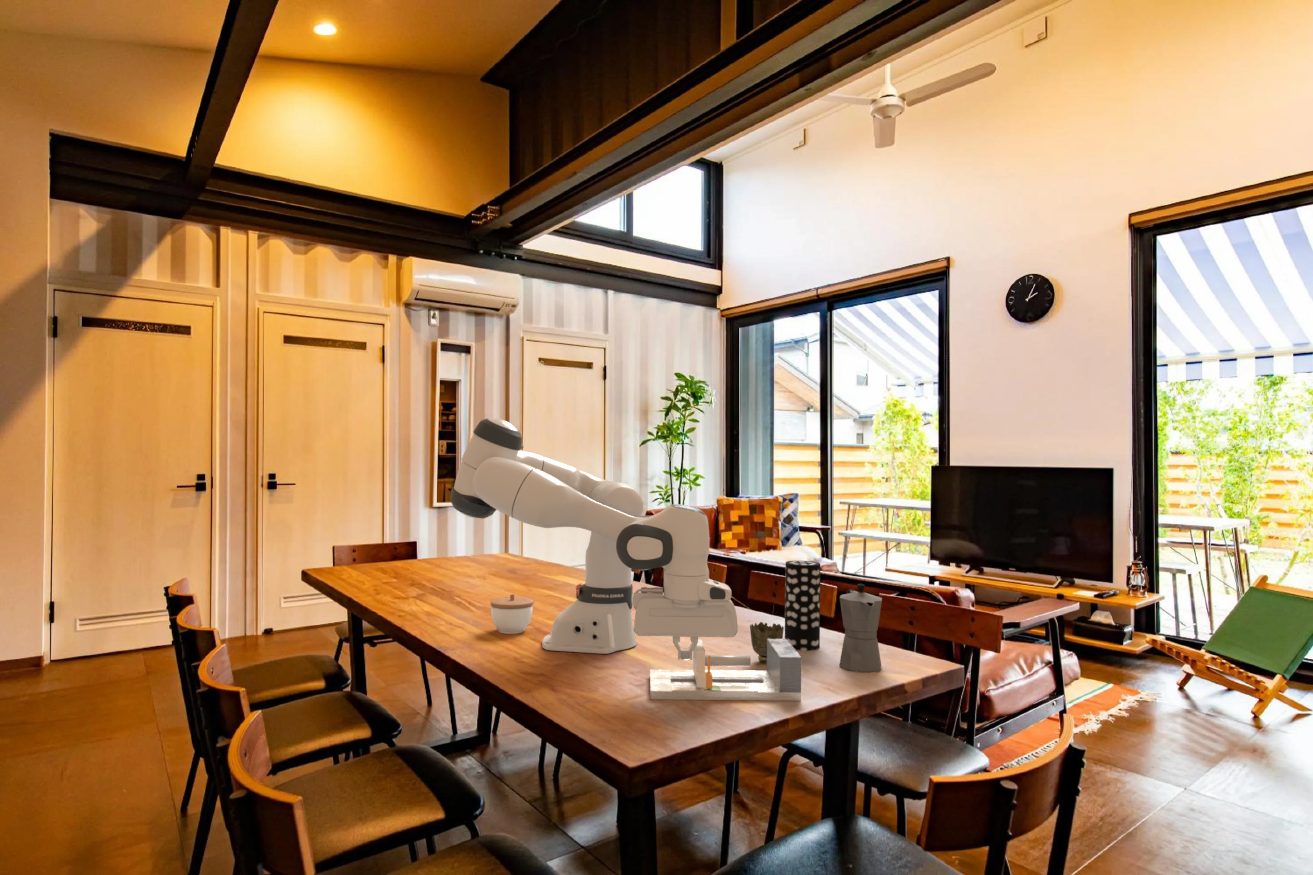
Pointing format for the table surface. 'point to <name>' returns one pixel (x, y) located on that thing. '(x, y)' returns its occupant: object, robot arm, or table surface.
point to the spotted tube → (802, 604)
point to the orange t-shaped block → (708, 675)
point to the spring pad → (713, 662)
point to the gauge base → (737, 680)
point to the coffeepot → (860, 631)
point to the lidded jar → (511, 614)
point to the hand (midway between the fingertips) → (684, 659)
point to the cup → (764, 638)
